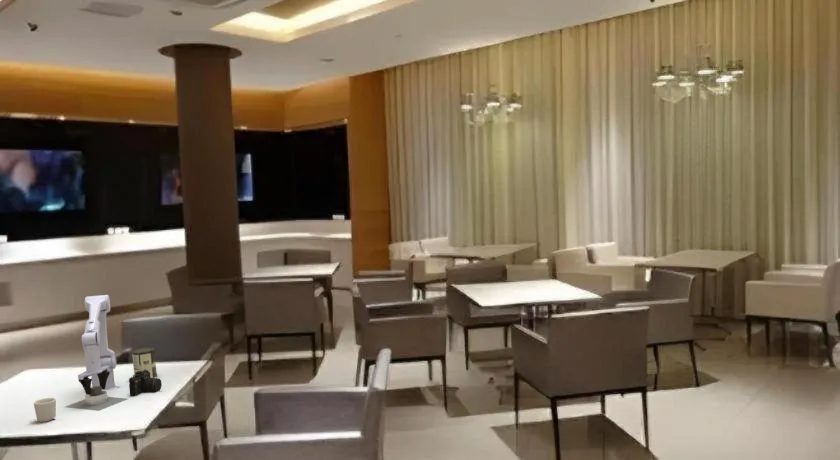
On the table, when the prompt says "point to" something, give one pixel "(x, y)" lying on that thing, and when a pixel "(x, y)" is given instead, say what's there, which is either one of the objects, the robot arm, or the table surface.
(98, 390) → the dark bulb knob
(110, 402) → the mat
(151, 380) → the camera
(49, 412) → the cup
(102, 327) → the robot arm
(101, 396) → the beige donut ring
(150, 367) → the coffee can
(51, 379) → the table surface
